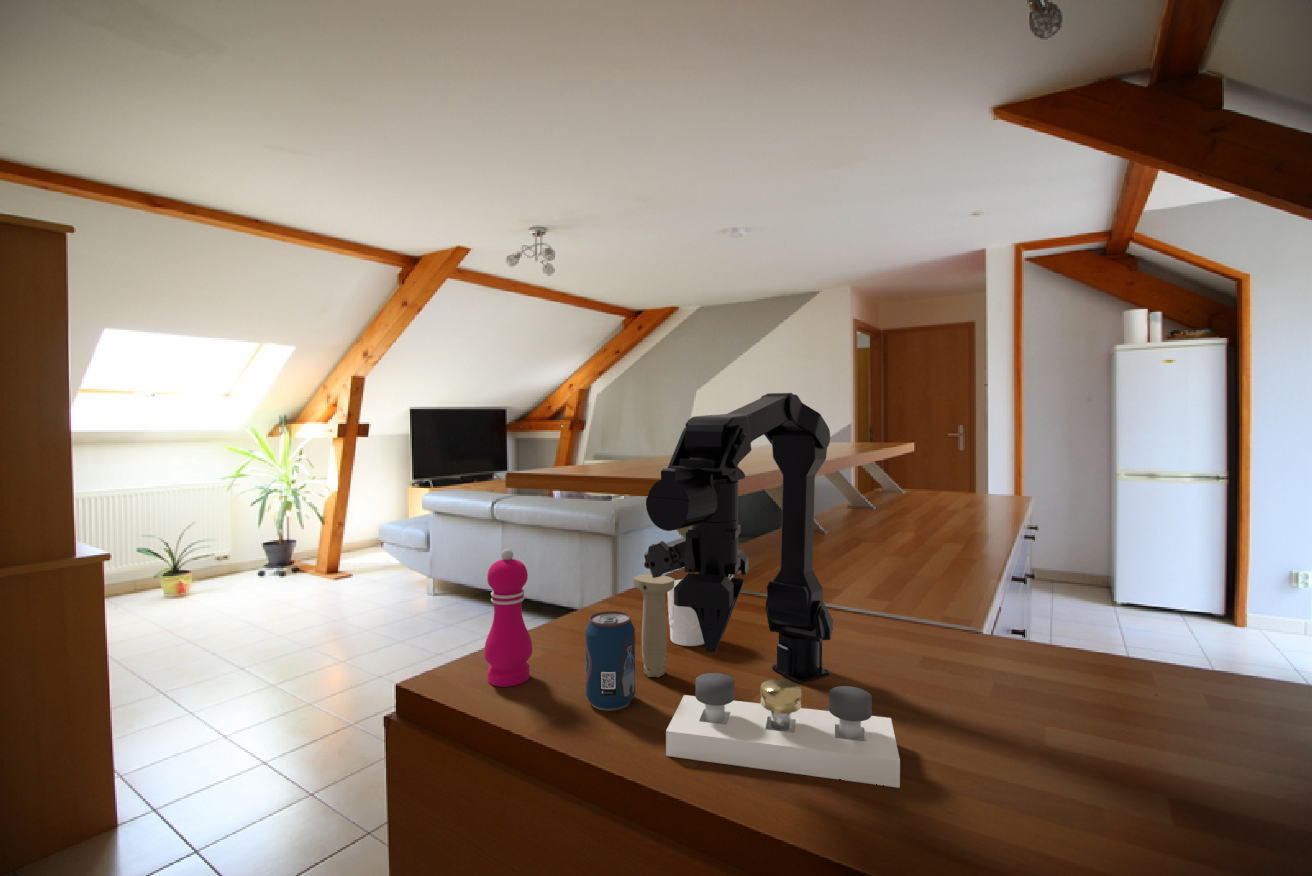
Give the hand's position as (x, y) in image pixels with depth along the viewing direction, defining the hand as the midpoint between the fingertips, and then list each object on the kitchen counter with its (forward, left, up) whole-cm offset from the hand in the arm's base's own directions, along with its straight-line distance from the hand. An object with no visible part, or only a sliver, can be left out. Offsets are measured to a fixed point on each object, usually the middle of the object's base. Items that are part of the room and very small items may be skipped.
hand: (714, 644), depth 79 cm
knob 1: (0, 0, -9) cm, 9 cm away
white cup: (-17, -31, -12) cm, 38 cm away
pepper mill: (+16, -31, -12) cm, 37 cm away
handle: (-4, -21, -12) cm, 25 cm away
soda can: (+6, -16, -12) cm, 21 cm away
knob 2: (-11, +11, -9) cm, 18 cm away
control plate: (-6, +6, -12) cm, 14 cm away
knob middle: (-6, +6, -9) cm, 12 cm away
